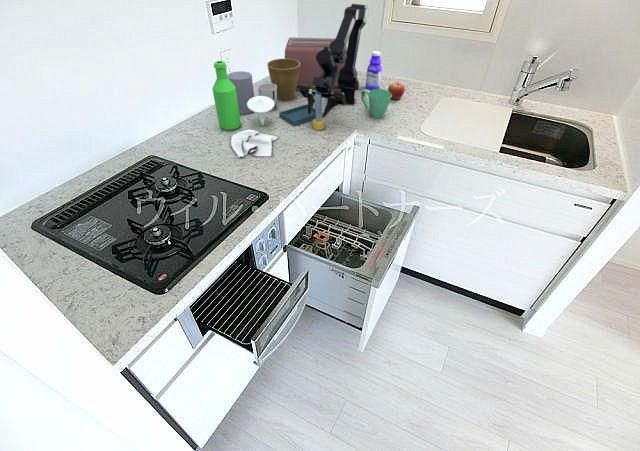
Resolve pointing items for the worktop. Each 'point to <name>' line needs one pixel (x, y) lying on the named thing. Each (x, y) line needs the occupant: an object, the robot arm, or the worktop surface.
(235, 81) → the container
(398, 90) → the apple
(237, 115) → the bottle
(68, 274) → the worktop surface
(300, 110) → the tray
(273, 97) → the cup
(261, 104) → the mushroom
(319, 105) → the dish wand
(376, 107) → the mug
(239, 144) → the cloth
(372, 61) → the bottle
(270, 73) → the plant pot
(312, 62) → the toaster
